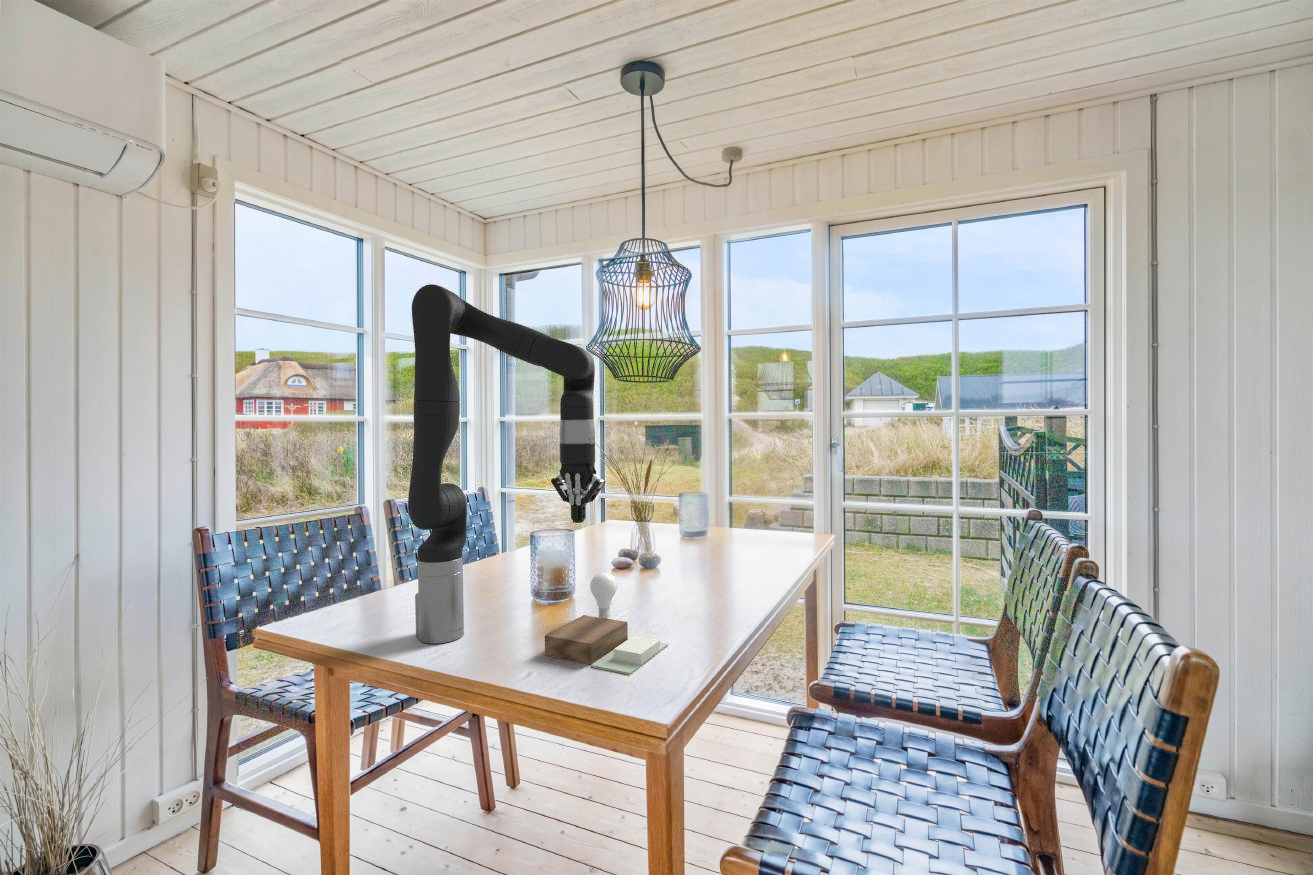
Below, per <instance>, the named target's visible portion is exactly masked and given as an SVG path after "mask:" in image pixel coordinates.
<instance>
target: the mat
mask: <svg viewBox="0 0 1313 875" xmlns="http://www.w3.org/2000/svg"><path fill="white" fill-rule="evenodd" d="M668 646H669V644H668V643H666V642H661V641H660V650H659V651H658V652H657V653H656V654H654V655H653V656H652V657H650V658H649V659H648V660H646V661H645V662H644V663H643V664H636V663H631V662H625V661H620V660H615V659H614V650H613V651H611V652H610V653H608V654H607V655H605V656H604V657H602V658H601V659H599V660H598V661H596V662H595V663H593V664H592V665H591V664H590V667H591V668H595V669H600V670H603V671H609V672H614V673H620V674H624V675H628V676H629V675H630V676H631V675H632V674H633V673H634V672H636V671H637V670H639V669H640V668H641V667H642V666H644V665H645V664H646V663H648V662H649V661H650V660H652V659H653V658H654V657H655V656H657V655H658V654H660V653H661V651H664V649H666V648H667V647H668Z"/></svg>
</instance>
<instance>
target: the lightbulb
mask: <svg viewBox="0 0 1313 875" xmlns="http://www.w3.org/2000/svg"><path fill="white" fill-rule="evenodd" d="M589 590H590V592H591V594H592V596H593V597H594V599H595V601H596V605H597V609H598V613H597V614H598V616H597V617H599V618H606V619H610V617H611V614H610V612H611V611H610V610H611V607H610V606H611V605H612V600H613V598H614V596H615V595H616V593H617V591H618V582H617V579H616V578H615V576H614V575H613V574H611V573H609V572H605V571H604V572H603V571H602V572H599V573H597V574H595V575H594V576H592V579H591V580H590V586H589Z"/></svg>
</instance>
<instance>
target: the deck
mask: <svg viewBox="0 0 1313 875" xmlns="http://www.w3.org/2000/svg"><path fill="white" fill-rule="evenodd" d="M628 633H629V632H628V621H623V620H618V619H611V618H607V619H606V618H599V617H598V616H591V615H586V614H583V615H581V616H579V617H577V618H576V619H574V620H571V621H570V622H568V623H566V624H564V625H562V626H560V627H558V628H556V629H554V630H552V631H551V632H548V633H547V634H544V656H547V657H552V658H556V659H557V658H558V659H562V660H567V661H571V662H577V663H580V664H581V663H583V664H588V665H590V666H591V665H592V664H593V663H595V662H596V661H598V660H599V659H601V658H602V657H604V656H605V655H607V654H608V653H610V652H611V651H613V650H614V649H615V648H616V647H618V646H619V645H621V644H622V643H624V642H625V641H627V640H628V639H629V637H628V636H629V635H628Z"/></svg>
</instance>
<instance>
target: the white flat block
mask: <svg viewBox="0 0 1313 875" xmlns="http://www.w3.org/2000/svg"><path fill="white" fill-rule="evenodd" d="M660 642H661V640H659V639H654V638H649V637H645V636H644V637H642V636H636V635H633V636H631V637H629V638H628V640H627V641H625V642H624V643H622V644H621V645H619V646H618V647H616V648H615V649H614V659H615V660H620V661H625V662H631V663H636V664H643V663H644V662H645V661H646V660H648V659H649V658H650V657H652V656H653V655H654V654H656V653H657V652H658V651H659V650H660Z"/></svg>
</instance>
